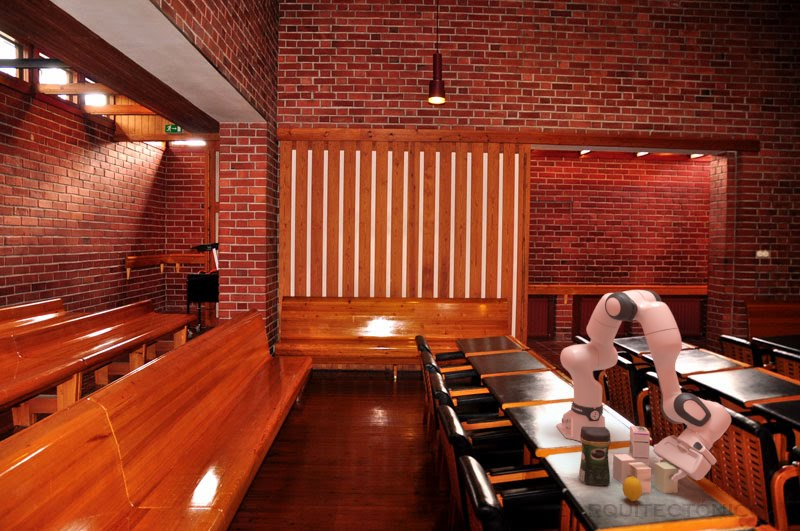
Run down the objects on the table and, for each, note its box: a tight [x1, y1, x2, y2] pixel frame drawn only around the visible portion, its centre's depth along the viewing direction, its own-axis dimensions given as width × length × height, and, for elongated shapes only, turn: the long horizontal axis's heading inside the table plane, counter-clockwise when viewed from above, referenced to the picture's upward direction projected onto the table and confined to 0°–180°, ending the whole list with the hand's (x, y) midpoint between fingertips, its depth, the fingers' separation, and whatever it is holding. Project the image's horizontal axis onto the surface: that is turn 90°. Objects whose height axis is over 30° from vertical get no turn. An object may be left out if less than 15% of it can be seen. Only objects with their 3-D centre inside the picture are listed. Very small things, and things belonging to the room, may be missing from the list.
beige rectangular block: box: [653, 462, 679, 494], centre depth 175 cm, size 5×5×8 cm
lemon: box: [622, 476, 643, 502], centre depth 167 cm, size 6×6×8 cm
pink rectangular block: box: [612, 453, 636, 485], centre depth 182 cm, size 5×5×8 cm
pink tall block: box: [628, 462, 652, 494], centre depth 175 cm, size 5×5×8 cm
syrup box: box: [628, 425, 651, 467], centre depth 191 cm, size 6×6×14 cm
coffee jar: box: [578, 426, 611, 486], centre depth 180 cm, size 10×8×19 cm
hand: (664, 475), depth 175 cm, fingers open, 6 cm apart
